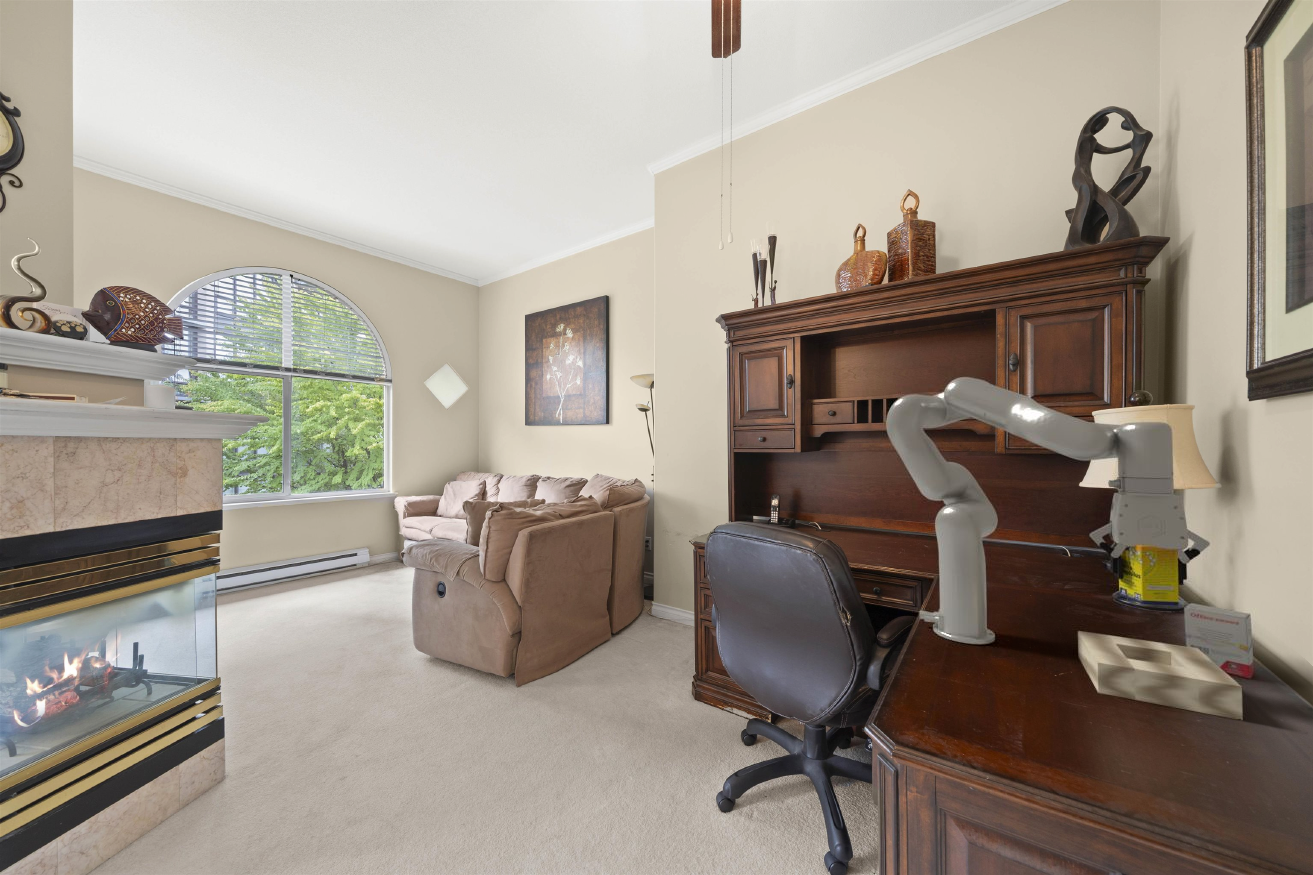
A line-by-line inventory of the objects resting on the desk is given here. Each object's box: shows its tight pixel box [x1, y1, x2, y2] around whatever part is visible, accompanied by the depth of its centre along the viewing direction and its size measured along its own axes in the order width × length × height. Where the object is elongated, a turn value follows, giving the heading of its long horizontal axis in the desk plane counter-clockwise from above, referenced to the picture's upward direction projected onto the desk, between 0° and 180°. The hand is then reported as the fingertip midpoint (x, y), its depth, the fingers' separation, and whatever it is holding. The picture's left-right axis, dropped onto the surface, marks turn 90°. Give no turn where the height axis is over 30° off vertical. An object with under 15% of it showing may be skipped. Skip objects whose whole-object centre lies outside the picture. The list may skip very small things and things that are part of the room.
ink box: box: [1183, 602, 1254, 679], centre depth 101 cm, size 9×5×12 cm, turn 33°
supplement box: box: [1118, 545, 1180, 607], centre depth 94 cm, size 6×6×11 cm
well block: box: [1077, 630, 1243, 721], centre depth 94 cm, size 18×18×6 cm
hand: (1147, 579), depth 94 cm, fingers closed on supplement box, 7 cm apart
